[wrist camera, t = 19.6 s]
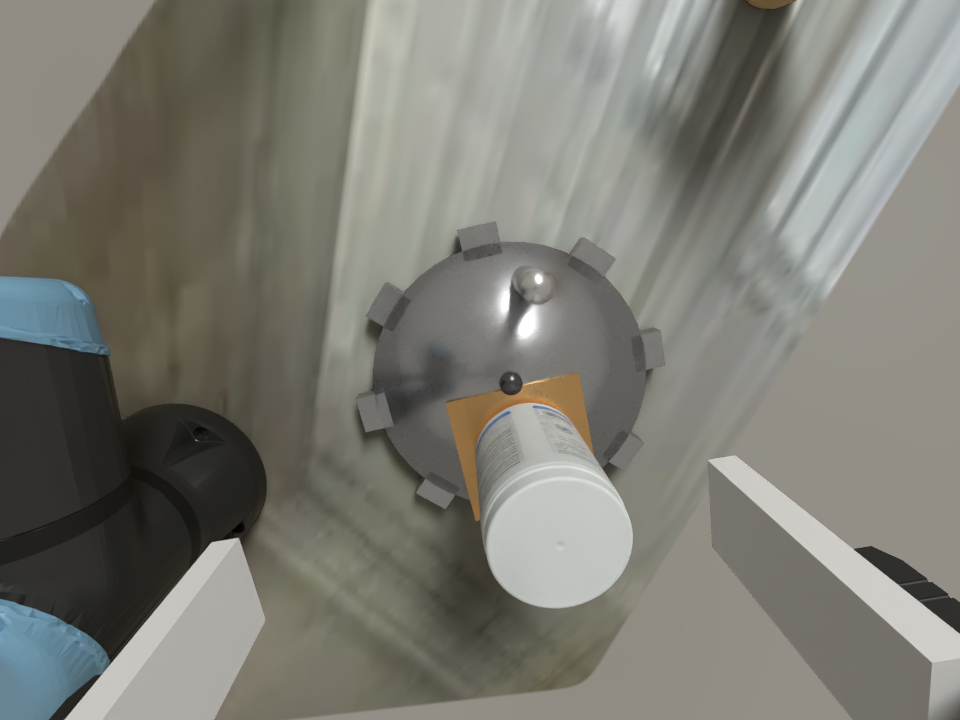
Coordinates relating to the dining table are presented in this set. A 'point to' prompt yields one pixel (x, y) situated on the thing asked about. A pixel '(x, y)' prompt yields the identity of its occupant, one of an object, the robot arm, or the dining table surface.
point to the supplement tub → (548, 509)
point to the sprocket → (505, 355)
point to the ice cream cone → (769, 3)
